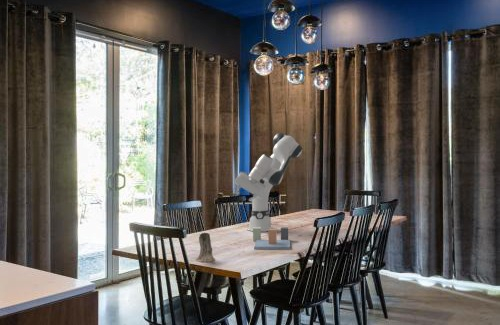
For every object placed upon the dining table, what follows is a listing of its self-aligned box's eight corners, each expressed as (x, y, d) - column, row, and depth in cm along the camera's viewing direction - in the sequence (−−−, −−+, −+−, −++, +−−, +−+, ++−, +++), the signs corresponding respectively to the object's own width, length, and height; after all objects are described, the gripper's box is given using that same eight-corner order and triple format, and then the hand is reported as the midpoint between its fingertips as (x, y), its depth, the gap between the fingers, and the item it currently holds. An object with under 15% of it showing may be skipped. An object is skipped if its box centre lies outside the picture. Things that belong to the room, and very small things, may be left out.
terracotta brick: (268, 242, 259) (268, 228, 258) (276, 242, 258) (276, 228, 258) (268, 243, 254) (268, 230, 254) (276, 243, 254) (276, 230, 254)
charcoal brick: (281, 240, 273) (280, 227, 273) (288, 240, 273) (288, 227, 272) (281, 241, 268) (280, 228, 268) (288, 241, 268) (288, 228, 268)
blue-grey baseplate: (256, 242, 267) (256, 239, 267) (289, 242, 265) (289, 239, 265) (254, 249, 247) (254, 246, 247) (290, 249, 245) (290, 246, 245)
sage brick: (253, 240, 274) (253, 227, 274) (260, 240, 274) (260, 227, 274) (253, 241, 270) (253, 228, 270) (260, 241, 269) (260, 228, 269)
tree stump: (201, 263, 217) (200, 235, 217) (192, 259, 225) (192, 233, 225) (219, 260, 222) (218, 233, 222) (209, 257, 231) (209, 231, 231)
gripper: (240, 168, 270) (228, 187, 268) (268, 184, 263) (256, 203, 261) (242, 171, 276) (230, 190, 274) (270, 187, 269) (258, 206, 267)
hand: (243, 197), depth 267 cm, fingers open, 8 cm apart
